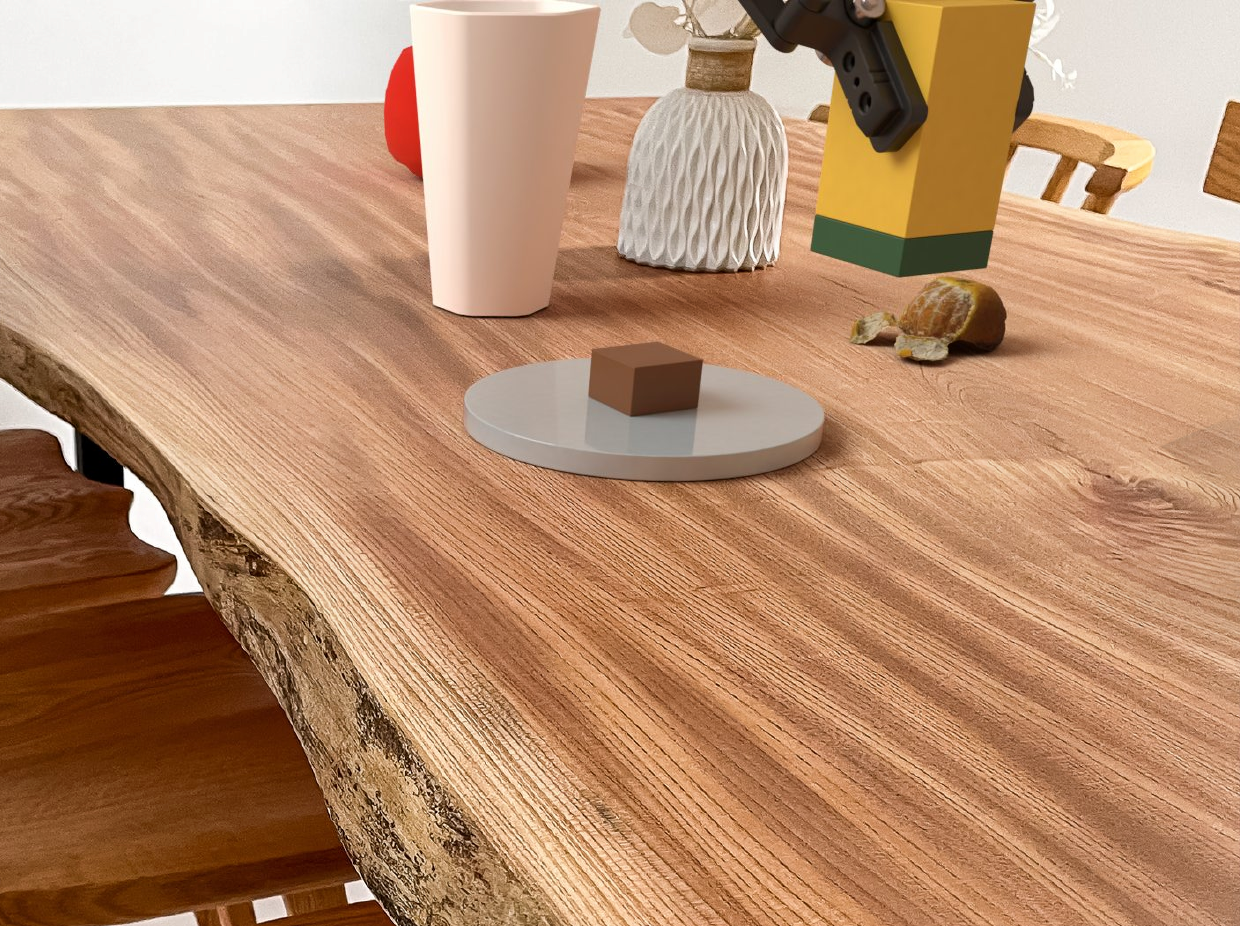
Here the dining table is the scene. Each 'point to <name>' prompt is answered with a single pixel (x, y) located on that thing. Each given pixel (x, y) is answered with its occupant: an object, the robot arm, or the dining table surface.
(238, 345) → the dining table surface
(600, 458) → the plate
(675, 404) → the brown block
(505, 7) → the cup
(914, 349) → the fruit
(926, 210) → the sponge
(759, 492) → the dining table surface
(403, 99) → the tomato
